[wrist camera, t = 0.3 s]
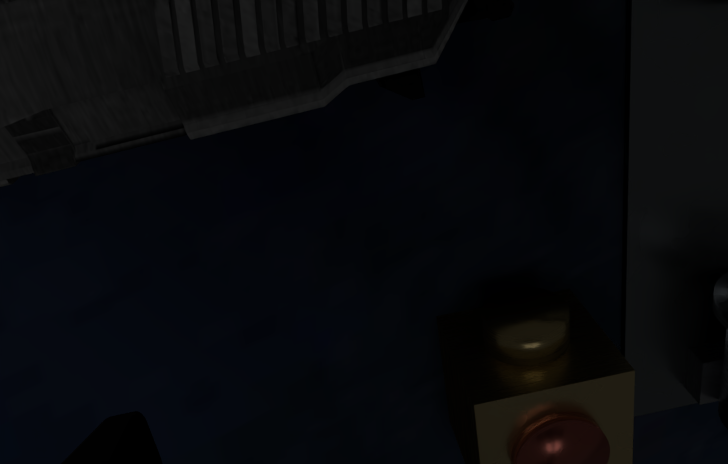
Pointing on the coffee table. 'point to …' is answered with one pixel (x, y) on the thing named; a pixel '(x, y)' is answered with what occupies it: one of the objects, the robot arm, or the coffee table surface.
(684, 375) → the plate with two spools
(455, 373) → the brass valve
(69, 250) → the coffee table surface
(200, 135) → the handgun
